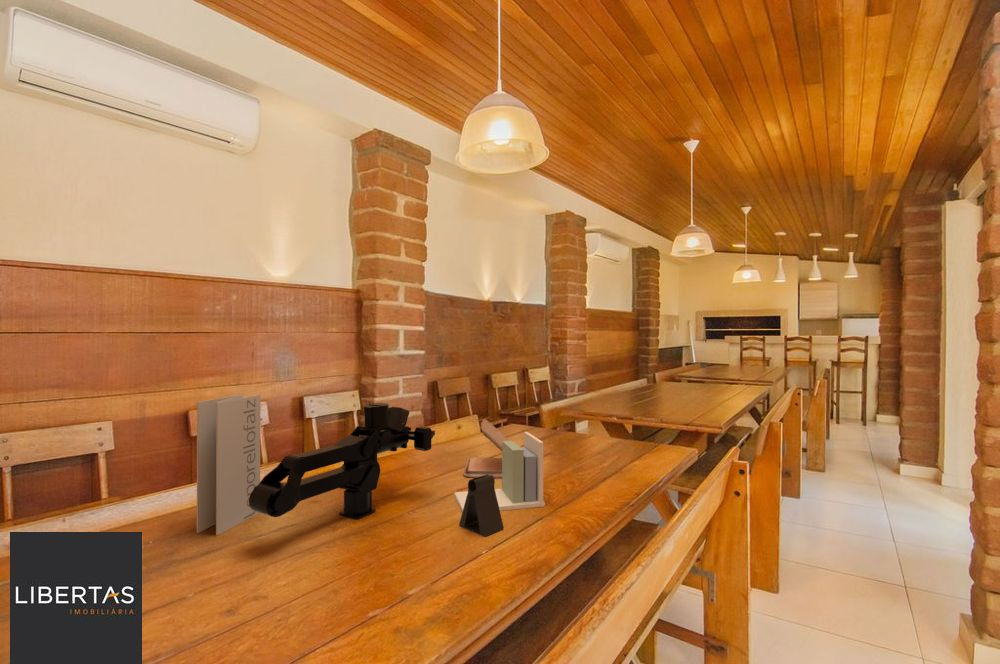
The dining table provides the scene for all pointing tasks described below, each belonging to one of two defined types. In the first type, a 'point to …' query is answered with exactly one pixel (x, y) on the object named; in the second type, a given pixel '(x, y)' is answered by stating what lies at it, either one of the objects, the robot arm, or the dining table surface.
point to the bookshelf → (518, 476)
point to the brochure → (227, 460)
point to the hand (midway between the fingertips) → (422, 430)
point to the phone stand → (481, 507)
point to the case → (487, 465)
